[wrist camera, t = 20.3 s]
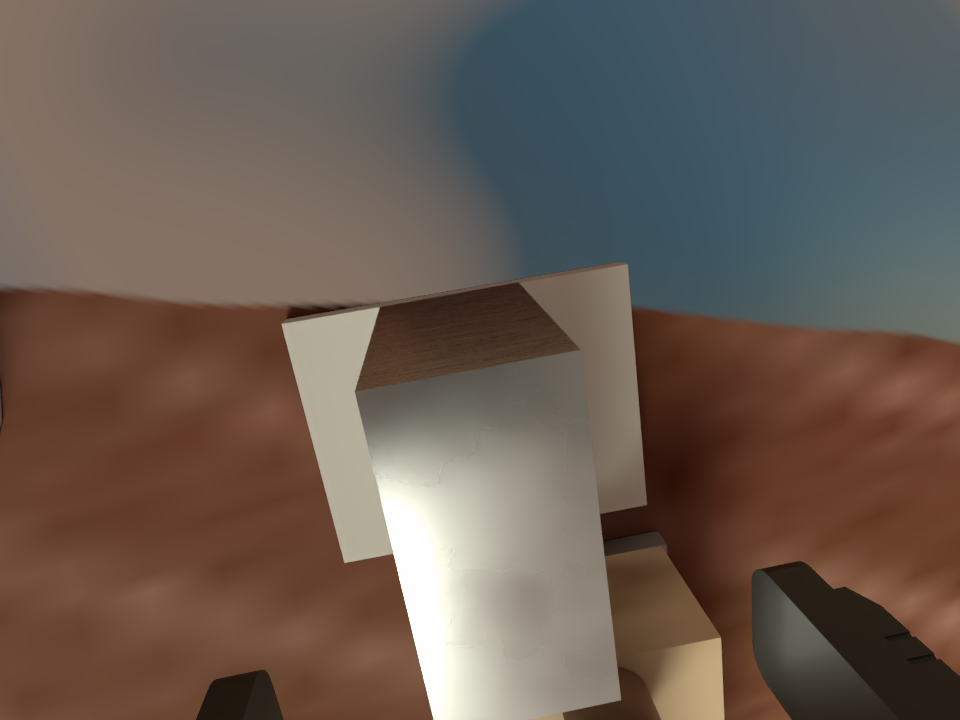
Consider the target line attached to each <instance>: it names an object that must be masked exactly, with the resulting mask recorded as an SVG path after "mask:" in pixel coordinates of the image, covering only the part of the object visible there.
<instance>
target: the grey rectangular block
mask: <svg viewBox="0 0 960 720" xmlns="http://www.w3.org/2000/svg"><path fill="white" fill-rule="evenodd" d="M355 395H356V399H357V403H358V408H359V412H360V416H361V420H362V424H363V428H364V432H365V437H366V441H367V445H368V449H369V453H370V457H371V461H372V466H373V470H374V474H375V478H376V482H377V486H378V491H379V495H380V499H381V503H382V507H383V511H384V515H385V520H386V524H387V528H388V532H389V536H390V540H391V544H392V549H393V553H394V557H395V561H396V565H397V569H398V573H399V578H400V582H401V586H402V590H403V594H404V598H405V602H406V607H407V611H408V615H409V619H410V623H411V627H412V632H413V636H414V640H415V644H416V648H417V652H418V656H419V661H420V665H421V669H422V673H423V677H424V681H425V685H426V690H427V694H428V698H429V702H430V706H431V710H432V714H433V719H434V720H530V719H534V718H539V717H544V716H549V715H553V714H558V713H563V712H568V711H572V710H577V709H582V708H587V707H591V706H596V705H601V704H606V703H610V702H615V701H620V700H621V694H620V686H619V677H618V668H617V660H616V651H615V642H614V634H613V625H612V616H611V607H610V599H609V590H608V581H607V573H606V564H605V555H604V547H603V538H602V529H601V521H600V512H599V503H598V495H597V486H596V477H595V469H594V460H593V451H592V442H591V434H590V425H589V416H588V408H587V399H586V390H585V382H584V373H583V364H582V356H581V349H580V348H579V347H578V346H577V345H576V344H575V343H574V342H573V341H572V340H571V339H570V338H569V336H568V335H567V334H566V333H565V332H564V331H563V330H562V329H561V328H560V327H559V326H558V325H557V324H556V322H555V321H554V320H553V319H552V318H551V317H550V316H549V315H548V314H547V313H546V312H545V311H544V309H543V308H542V307H541V306H540V305H539V304H538V303H537V302H536V301H535V300H534V299H533V298H532V296H531V295H530V294H529V293H528V292H527V291H526V290H525V289H524V288H523V287H522V286H521V285H520V283H519V282H518V283H512V284H506V285H501V286H495V287H490V288H484V289H478V290H473V291H467V292H462V293H456V294H450V295H445V296H439V297H434V298H428V299H423V300H417V301H411V302H406V303H400V304H395V305H389V306H383V307H380V308H379V312H378V315H377V319H376V322H375V325H374V329H373V332H372V335H371V339H370V342H369V345H368V349H367V352H366V355H365V359H364V362H363V365H362V369H361V372H360V375H359V379H358V382H357V385H356V389H355Z"/></svg>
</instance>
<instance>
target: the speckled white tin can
mask: <svg viewBox="0 0 960 720" xmlns="http://www.w3.org/2000/svg"><path fill="white" fill-rule="evenodd" d="M1 423H2V405H1V386H0V428H1Z"/></svg>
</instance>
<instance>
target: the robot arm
mask: <svg viewBox="0 0 960 720" xmlns="http://www.w3.org/2000/svg"><path fill="white" fill-rule="evenodd" d="M752 634H753V650H754V654H755V658H756V661H757V664H758V667H759V670H760V672H761V674H762V676H763V678H764V680H765V682H766V684H767V685H768V687H769V688H770V690H771V691H772V692H773V694H774V695H775V697H776V698H777V699H778V701H779V702H780V704H781V705H782V706H783V708H784V709H785V711H786V712H787V713H788V715H789V716H790V718H791V719H792V720H960V676H959V675H957V674H956V673H955V672H954V671H953V670H952V669H951V668H950V667H949V666H947V665H946V664H945V663H944V662H943V661H942V660H941V659H938V660H937V659H936V658H935V656H934V653H933V652H932V651H931V650H930V649H929V648H927V647H926V646H925V645H924V644H923V643H922V642H921V641H920V640H919V639H917V638H916V637H912V636H911V635H910V631H909V630H907V629H906V628H905V627H904V626H903V625H902V624H901V623H900V622H899V621H897V620H896V619H895V618H894V617H893V616H892V615H891V614H890V613H889V612H887V611H886V610H885V609H884V608H883V607H882V606H880V605H879V604H877V603H875V602H873V601H871V600H869V599H867V598H865V597H863V596H861V595H860V594H858V593H856V592H854V591H852V590H850V589H848V588H846V587H842V588H837V589H833V588H832V587H831V586H830V585H828V584H827V583H826V582H825V581H824V580H823V579H822V578H821V577H820V576H819V575H818V574H817V573H816V572H815V571H814V570H813V569H812V568H811V567H810V566H808V565H807V564H806V563H804V562H801V561H798V562H793V563H788V564H783V565H778V566H773V567H768V568H763V569H759V570H756V571H755V572H754V573H753V575H752ZM196 720H283V716H282V713H281V710H280V707H279V704H278V701H277V698H276V694H275V691H274V688H273V685H272V682H271V679H270V676H269V674H268V673H267V672H266V671H265V670H259V671H254V672H249V673H244V674H239V675H234V676H230V677H225V678H220V679H216V680H214V681H213V682H212V683H211V685H210V687H209V689H208V691H207V693H206V696H205V699H204V701H203V704H202V706H201V709H200V711H199V714H198V716H197V719H196Z"/></svg>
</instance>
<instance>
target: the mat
mask: <svg viewBox="0 0 960 720" xmlns="http://www.w3.org/2000/svg"><path fill="white" fill-rule="evenodd" d="M518 282H519V283H520V285H521V286H522V287H523V288H524V289H525V290H526V291H527V292H528V293H529V294H530V295H531V296H532V298H533V299H534V300H535V301H536V302H537V303H538V304H539V305H540V306H541V307H542V308H543V309H544V311H545V312H546V313H547V314H548V315H549V316H550V317H551V318H552V319H553V320H554V321H555V322H556V324H557V325H558V326H559V327H560V328H561V329H562V330H563V331H564V332H565V333H566V334H567V335H568V336H569V338H570V339H571V340H572V341H573V342H574V343H575V344H576V345H577V346H578V347H579V348H580V349H581V356H582V364H583V373H584V382H585V390H586V399H587V408H588V416H589V425H590V434H591V442H592V451H593V460H594V469H595V477H596V486H597V495H598V503H599V512H600V514H603V513H608V512H613V511H618V510H623V509H629V508H634V507H639V506H644V505H647V498H646V486H645V473H644V461H643V448H642V436H641V423H640V411H639V398H638V386H637V373H636V361H635V348H634V336H633V323H632V311H631V299H630V287H629V274H628V264H626V263H624V262H615V263H609V264H603V265H598V266H592V267H586V268H580V269H574V270H569V271H563V272H557V273H551V274H545V275H540V276H534V277H528V278H522V279H517V280H511V281H505V282H499V283H493V284H487V285H482V286H476V287H471V288H464V289H459V290H453V291H447V292H441V293H436V294H430V295H424V296H418V297H412V298H406V299H400V300H395V301H389V302H383V303H377V304H371V305H366V306H360V307H354V308H348V309H342V310H337V311H331V312H325V313H319V314H313V315H308V316H302V317H296V318H290V319H286V320H285V321H284V322H283V323H282V328H283V332H284V336H285V339H286V343H287V347H288V351H289V354H290V358H291V362H292V366H293V370H294V373H295V377H296V381H297V385H298V388H299V392H300V396H301V400H302V404H303V407H304V411H305V415H306V419H307V423H308V426H309V430H310V434H311V438H312V441H313V445H314V449H315V453H316V457H317V460H318V464H319V468H320V472H321V475H322V479H323V483H324V487H325V491H326V494H327V498H328V502H329V506H330V510H331V513H332V517H333V521H334V525H335V528H336V532H337V536H338V540H339V544H340V547H341V551H342V555H343V559H344V562H345V563H347V562H352V561H357V560H362V559H368V558H373V557H378V556H383V555H389V554H394V553H393V549H392V544H391V540H390V536H389V532H388V528H387V524H386V520H385V515H384V511H383V507H382V503H381V499H380V495H379V491H378V486H377V482H376V478H375V474H374V470H373V466H372V461H371V457H370V453H369V449H368V445H367V441H366V437H365V432H364V428H363V424H362V420H361V416H360V412H359V408H358V403H357V399H356V395H355V389H356V385H357V382H358V379H359V375H360V372H361V369H362V365H363V362H364V359H365V355H366V352H367V349H368V345H369V342H370V339H371V335H372V332H373V329H374V325H375V322H376V319H377V315H378V312H379V308H380V307H383V306H389V305H395V304H400V303H406V302H411V301H417V300H423V299H428V298H434V297H439V296H445V295H450V294H456V293H462V292H467V291H473V290H478V289H484V288H490V287H495V286H501V285H506V284H512V283H518Z"/></svg>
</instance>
